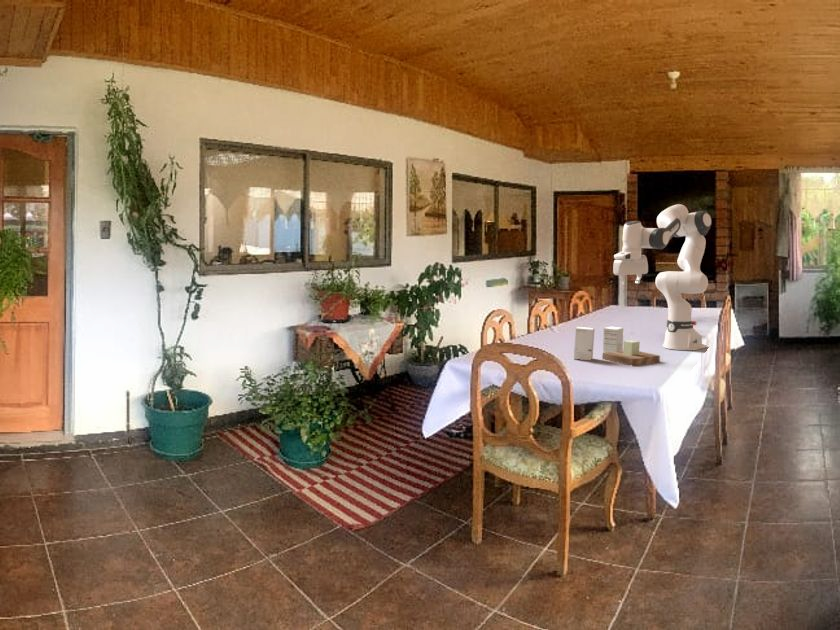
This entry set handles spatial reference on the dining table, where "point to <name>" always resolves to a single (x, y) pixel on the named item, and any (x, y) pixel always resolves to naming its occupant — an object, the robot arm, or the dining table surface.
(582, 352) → the skincare box
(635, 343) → the sage block
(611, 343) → the supplement box
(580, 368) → the dining table surface
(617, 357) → the walnut stand
